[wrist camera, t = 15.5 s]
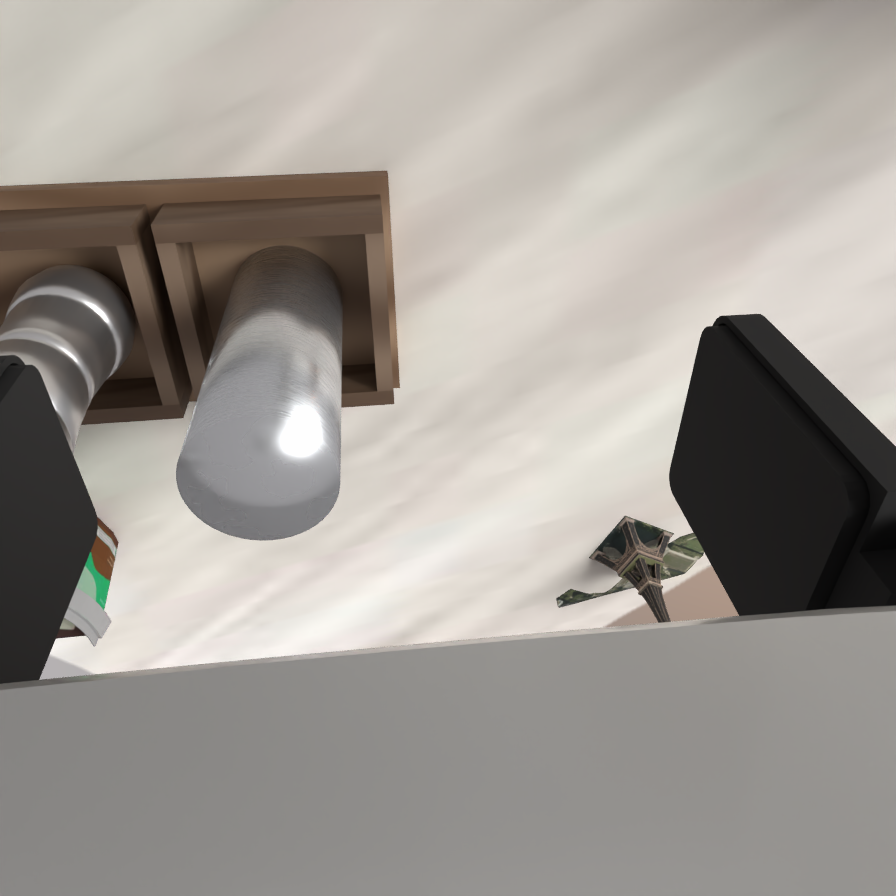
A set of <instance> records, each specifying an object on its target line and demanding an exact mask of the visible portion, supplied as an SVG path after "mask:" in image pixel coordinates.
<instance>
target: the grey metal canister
mask: <svg viewBox="0 0 896 896" xmlns="http://www.w3.org/2000/svg"><path fill="white" fill-rule="evenodd" d="M342 317H343V294H342V289H341V285H340V282H339V280H338V278H337V276H336V274H335V272H334V271H333V269H332V268H331V267H330V266H329V265H328V264H327V263H326V262H325V261H324V260H323V259H322V258H320V257H319V256H318V255H316V254H314V253H312V252H311V251H308V250H306V249H303V248H300V247H296V246H289V245H278V246H271V247H267V248H264V249H262V250H259V251H257V252H256V253H254V254H252V255H251V256H250V257H249V258H247V259H246V260H245V261H244V262H243V264H242V265H241V266H240V268H239V270H238V272H237V274H236V276H235V279H234V282H233V286H232V289H231V292H230V295H229V298H228V302H227V305H226V308H225V311H224V315H223V318H222V321H221V324H220V327H219V331H218V334H217V337H216V340H215V344H214V347H213V350H212V353H211V356H210V360H209V363H208V366H207V369H206V373H205V376H204V379H203V382H202V386H201V389H200V392H199V395H198V398H197V402H196V405H195V408H194V411H193V415H192V418H191V421H190V424H189V427H188V431H187V434H186V437H185V440H184V444H183V447H182V450H181V453H180V456H179V460H178V463H177V469H176V481H177V485H178V489H179V492H180V494H181V497H182V498H183V500H184V502H185V504H186V505H187V506H188V508H189V509H190V510H191V511H192V512H193V513H194V514H195V515H196V516H197V517H198V518H199V519H200V520H202V521H203V522H204V523H206V524H207V525H209V526H211V527H212V528H214V529H216V530H218V531H221V532H223V533H225V534H228V535H231V536H235V537H239V538H243V539H250V540H276V539H283V538H287V537H291V536H294V535H297V534H300V533H302V532H304V531H307V530H309V529H310V528H312V527H314V526H315V525H317V524H318V523H319V522H320V521H322V520H323V519H324V518H325V517H326V516H327V515H328V513H329V512H330V511H331V509H332V508H333V506H334V504H335V502H336V500H337V497H338V494H339V489H340V458H341V388H342Z"/></svg>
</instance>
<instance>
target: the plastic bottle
mask: <svg viewBox="0 0 896 896" xmlns="http://www.w3.org/2000/svg"><path fill="white" fill-rule="evenodd" d="M135 326H136V324H135V315H134V312H133V309H132V306H131V304H130V302H129V300H128V298H127V297H126V295H125V294H124V293H123V291H122V290H121V289H120V288H119V287H118V286H117V285H116V284H115V283H114V282H113V281H112V280H110V279H109V278H107V277H106V276H104V275H103V274H101V273H99V272H97V271H94V270H92V269H90V268H86V267H82V266H78V265H57V266H54V267H50V268H47V269H45V270H43V271H42V272H40V273H38V274H36V275H34V276H32V277H31V278H29V279H27V280H26V281H25V282H24V283H23V284H22V285H21V286H20V287H19V289H18V290H17V292H16V294H15V295H14V297H13V299H12V301H11V303H10V305H9V307H8V311H7V314H6V318H5V320H4V322H3V324H2V325H1V327H0V356H3V355H16V356H18V357H20V358H21V360H22V361H23V362H24V363H25V365H33V366H35V367H36V368H37V369H38V370H39V372H40V374H41V376H42V378H43V381H44V383H45V386H46V388H47V391H48V393H49V396H50V398H51V401H52V404H53V406H54V409H55V411H56V414H57V416H58V419H59V421H60V424H61V426H62V429H63V431H64V434H65V436H66V439H67V441H68V444H69V446H70V449H71V451H72V454H73V453H74V449H75V445H76V441H77V437H78V433H79V429H80V425H81V423H82V421H83V418H84V416H85V414H86V411H87V409H88V407H89V404H90V402H91V400H92V398H93V397H94V395H95V394H96V393H97V391H98V390H99V388H100V387H101V386H102V384H103V383H104V382H105V380H106V379H108V378H109V377H110V376H111V375H112V374H113V373H115V372H116V371H117V370H118V368H119V367H120V366H121V365H122V364H123V363H124V361H125V360H126V359H127V357H128V356H129V354H130V352H131V349H132V347H133V341H134V334H135Z"/></svg>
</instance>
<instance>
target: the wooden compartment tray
mask: <svg viewBox="0 0 896 896" xmlns="http://www.w3.org/2000/svg"><path fill="white" fill-rule="evenodd" d="M278 245H289V246H296V247H300V248H303V249H306V250H308V251H311V252H312V253H314V254H316V255H318V256H319V257H320V258H322V259H323V260H324V261H325V262H326V263H327V264H328V265H329V266H330V267H331V268H332V269H333V271H334V272H335V274H336V276H337V278H338V280H339V282H340V285H341V289H342V294H343V317H342V388H341V407H355V406H370V405H385V404H394V393H393V388H400V384H399V366H398V348H397V330H396V312H395V294H394V276H393V258H392V240H391V222H390V204H389V186H388V173H387V171H371V172H346V173H321V174H295V175H270V176H245V177H219V178H194V179H169V180H144V181H118V182H93V183H68V184H43V185H17V186H0V327H1V325H2V324H3V322H4V320H5V318H6V314H7V311H8V307H9V305H10V303H11V301H12V299H13V297H14V295H15V294H16V292H17V290H18V289H19V287H20V286H21V285H22V284H23V283H24V282H25V281H26V280H27V279H29V278H31V277H32V276H34V275H36V274H38V273H40V272H42V271H43V270H45V269H47V268H50V267H54V266H57V265H78V266H82V267H86V268H90V269H92V270H94V271H97V272H99V273H101V274H103V275H104V276H106V277H107V278H109V279H110V280H112V281H113V282H114V283H115V284H116V285H117V286H118V287H119V288H120V289H121V290H122V291H123V293H124V294H125V295H126V297H127V298H128V300H129V302H130V304H131V306H132V309H133V312H134V315H135V324H136V326H135V334H134V341H133V347H132V349H131V352H130V354H129V356H128V357H127V359H126V360H125V361H124V363H123V364H122V365H121V366H120V367H119V368H118V370H117V371H116V372H115V373H113V374H112V375H111V376H110V377H109V378H108V379H106V380H105V382H104V383H103V384H102V386H101V387H100V388H99V390H98V391H97V393H96V394H95V395H94V397H93V398H92V400H91V402H90V404H89V407H88V409H87V411H86V414H85V416H84V418H83V421H82V423H81V425H85V424H100V423H115V422H130V421H145V420H160V419H175V418H183V417H184V414H185V411H186V408H187V405H188V402H189V401H196V402H197V398H198V395H199V392H200V389H201V386H202V382H203V379H204V376H205V373H206V369H207V366H208V363H209V360H210V356H211V353H212V350H213V347H214V344H215V340H216V337H217V334H218V331H219V327H220V324H221V321H222V318H223V315H224V311H225V308H226V305H227V302H228V298H229V295H230V292H231V289H232V286H233V282H234V279H235V276H236V274H237V272H238V270H239V268H240V266H241V265H242V264H243V262H244V261H245V260H246V259H247V258H249V257H250V256H251V255H252V254H254V253H256V252H257V251H259V250H262V249H264V248H267V247H271V246H278Z"/></svg>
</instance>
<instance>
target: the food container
mask: <svg viewBox="0 0 896 896" xmlns="http://www.w3.org/2000/svg"><path fill="white" fill-rule="evenodd" d="M97 521H98V530H97V536H96V539H95V542H94V544H93V547H92V549H91V552H90V554H89V557H88V559H87V562H86V564H85V567H84V569H83V572H82V574H81V577H80V579H79V582H78V584H77V587H76V589H75V592H74V594H73V597H72V599H71V602H70V604H69V607H68V609H67V612H66V614H65V617H64V619H63V621H62V624H61V626H60V629H59V631H58V634H57V636H56V638H65V637H75V636H87V637H88V638H89V640H90V641H91V643H92V644H93V646H95V645H96V643H97V641H98V638H102V637H103V635H104V633H105V632H106V630H107V628H108V627H109V625H110V623H111V620H110V618H109V617H108V615H107V613H106V612H105V611H104V608H105V603H106V599H107V594H108V589H109V585H110V580H111V575H112V571H113V566H114V561H115V557H116V552H117V547H118V541H117V539H116V537H115V535H114V533H113V532H112V531H111V530H110V529H109V528H108V527H107V526H106V525H105V524H104V523H103V522H102V521H101V520H100V519H99V518H98V517H97Z"/></svg>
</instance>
